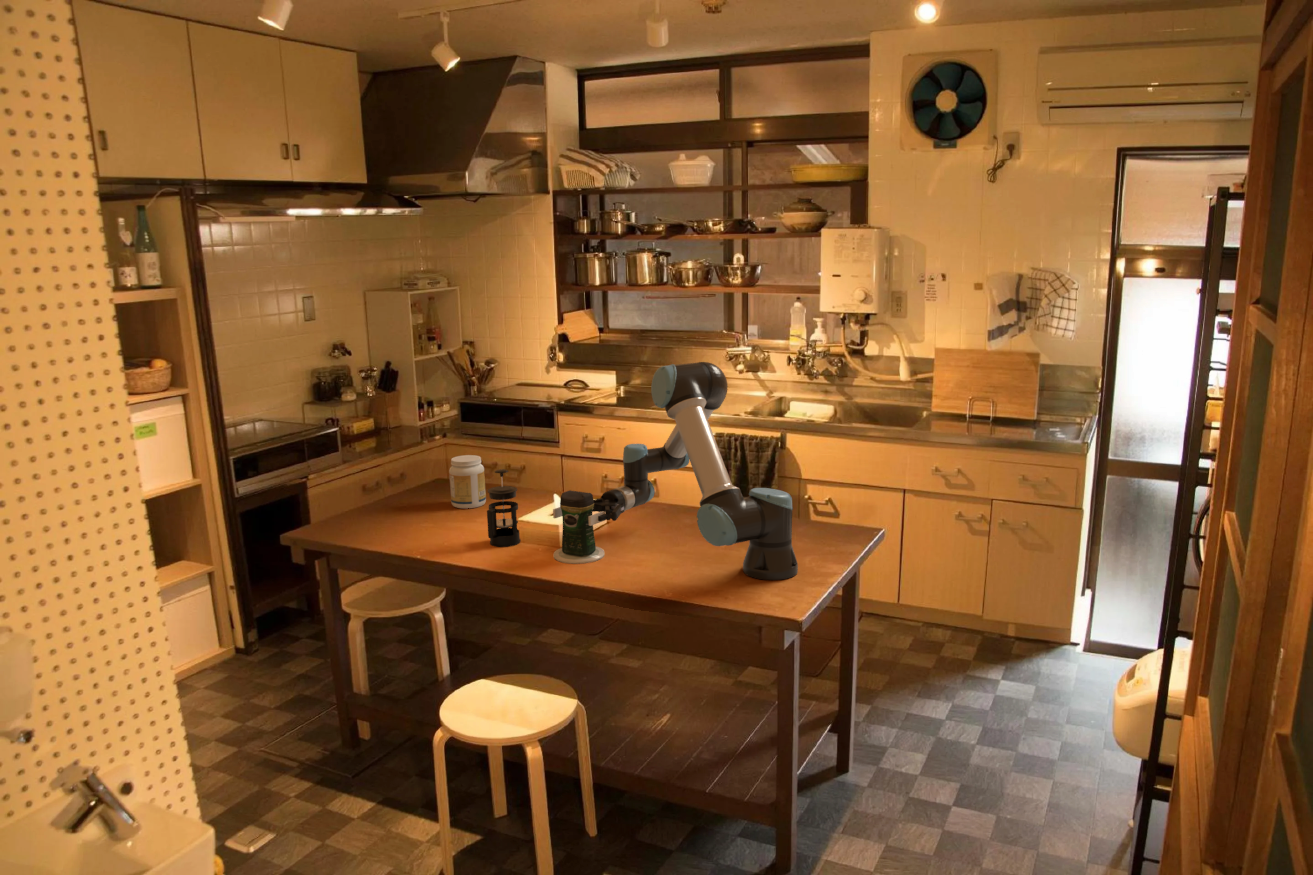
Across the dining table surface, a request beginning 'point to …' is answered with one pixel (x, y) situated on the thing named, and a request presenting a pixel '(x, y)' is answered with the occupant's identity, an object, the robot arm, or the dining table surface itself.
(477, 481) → the supplement tub
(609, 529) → the dining table surface
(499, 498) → the french press
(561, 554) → the grey plate
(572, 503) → the coffee jar
